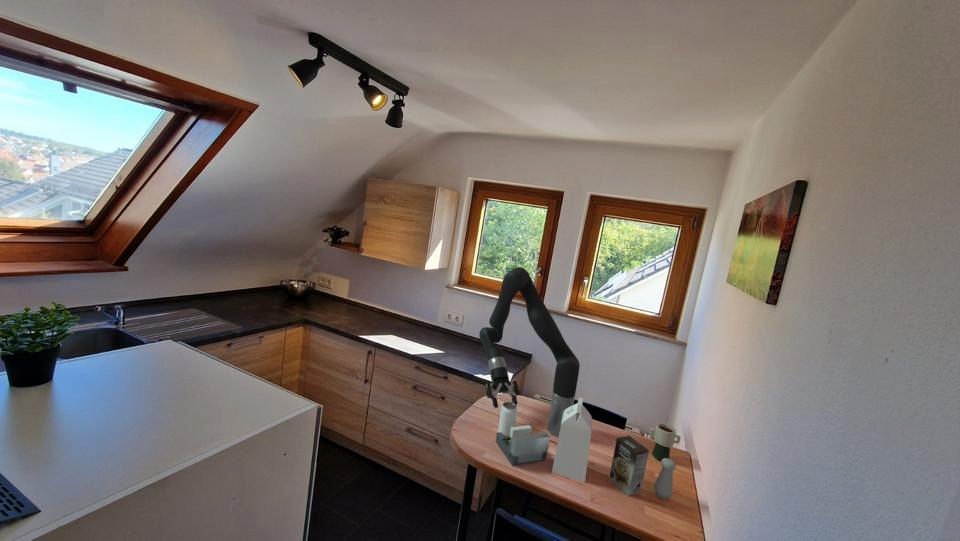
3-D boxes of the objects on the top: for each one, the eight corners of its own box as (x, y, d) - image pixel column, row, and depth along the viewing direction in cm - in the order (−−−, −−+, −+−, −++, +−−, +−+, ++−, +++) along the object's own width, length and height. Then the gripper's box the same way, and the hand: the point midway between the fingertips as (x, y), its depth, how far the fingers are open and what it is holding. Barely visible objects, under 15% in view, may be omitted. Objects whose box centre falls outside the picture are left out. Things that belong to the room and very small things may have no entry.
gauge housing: (527, 437, 158) (530, 415, 156) (546, 461, 144) (549, 436, 143) (495, 441, 153) (498, 418, 151) (512, 466, 139) (515, 441, 138)
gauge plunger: (526, 443, 152) (529, 425, 151) (529, 446, 150) (531, 428, 149) (500, 446, 148) (502, 428, 147) (502, 449, 146) (504, 431, 145)
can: (512, 438, 156) (516, 410, 154) (496, 434, 157) (500, 407, 156) (514, 430, 163) (518, 403, 161) (499, 426, 164) (503, 400, 162)
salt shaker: (649, 488, 136) (656, 454, 134) (665, 489, 136) (672, 455, 134) (658, 501, 130) (665, 465, 128) (674, 502, 130) (682, 466, 128)
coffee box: (608, 479, 138) (615, 437, 136) (621, 475, 141) (628, 434, 139) (628, 496, 130) (636, 453, 128) (641, 492, 133) (650, 449, 131)
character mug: (674, 457, 156) (680, 427, 154) (676, 467, 150) (682, 436, 148) (645, 448, 160) (651, 419, 158) (645, 458, 154) (651, 427, 152)
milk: (584, 482, 135) (596, 412, 131) (551, 472, 138) (562, 404, 134) (586, 462, 146) (597, 397, 142) (555, 453, 150) (565, 390, 146)
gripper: (486, 366, 165) (493, 405, 156) (516, 365, 170) (525, 402, 161) (480, 373, 170) (487, 411, 161) (509, 371, 176) (517, 408, 167)
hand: (506, 406), depth 161 cm, fingers open, 8 cm apart
